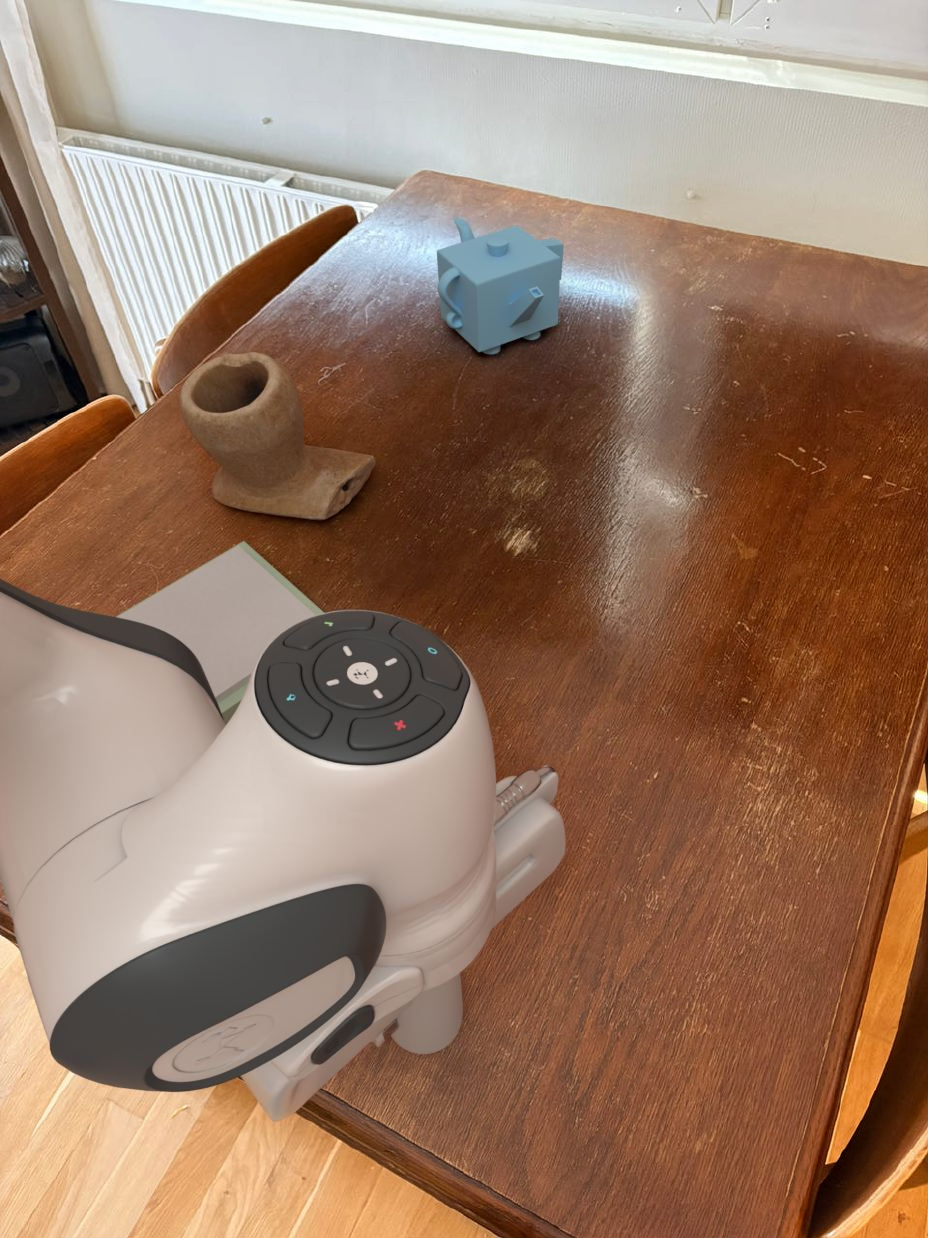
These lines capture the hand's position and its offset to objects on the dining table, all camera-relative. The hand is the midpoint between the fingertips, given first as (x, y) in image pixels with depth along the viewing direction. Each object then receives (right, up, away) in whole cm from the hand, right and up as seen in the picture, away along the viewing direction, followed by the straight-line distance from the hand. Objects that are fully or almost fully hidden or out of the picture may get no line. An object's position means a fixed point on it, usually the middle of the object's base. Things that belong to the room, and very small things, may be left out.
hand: (419, 990), depth 52 cm
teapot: (+7, +56, +56) cm, 80 cm away
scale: (-18, +19, +25) cm, 36 cm away
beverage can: (0, -3, +4) cm, 5 cm away
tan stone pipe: (-15, +33, +38) cm, 52 cm away
